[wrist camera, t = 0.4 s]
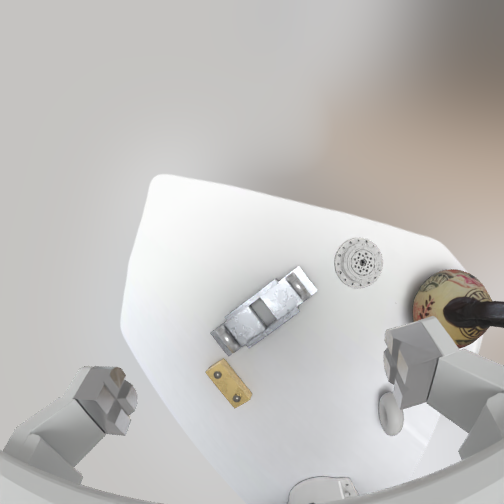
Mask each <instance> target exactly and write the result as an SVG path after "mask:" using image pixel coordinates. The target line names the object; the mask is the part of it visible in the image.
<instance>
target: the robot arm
mask: <svg viewBox="0 0 504 504" xmlns="http://www.w3.org/2000/svg"><path fill="white" fill-rule="evenodd" d="M385 343H386V345H387V349H386V350H385V351H384V368H385V372H386V376H387V378H388V381H389V382H390V383H392V384H393V385H394V391H393V394H394V396H395V399H396V402H397V404H398V407H399V409H400V410H402V409H405V408H408V407H412V406H415V405H418V404H422V403H425V402H427V404H428V405H430V406H431V407H433V408H434V409H435V410H437V411H438V412H440V413H441V414H442V415H444V416H445V417H446V418H448V419H449V420H451V421H452V422H453V423H455V424H456V425H458V426H459V427H460V428H462V429H463V430H465V431H466V432H468V433H469V434H468V436H467V438H466V439H465V441H464V443H463V444H462V446H461V447H460V449H459V451H458V452H459V454H460V457H461V459H462V460H461V461H460V462H457V463H455V464H453V465H450V466H448V467H446V468H444V469H441V470H439V471H436V472H434V473H431V474H429V475H426V476H423V477H421V478H418V479H415V480H412V481H409V482H406V483H403V484H400V485H397V486H394V487H390V488H387V489H383V490H380V491H376V492H372V493H368V494H364V495H360V496H359V495H358V493H357V491H356V489H355V487H354V485H353V483H352V482H351V480H350V478H348V477H344V478H330V477H315V478H310V479H307V480H304V481H302V482H300V483H298V484H297V485H296V486H295V487H293V489H292V490H291V492H290V494H289V502H288V503H287V504H504V365H501V364H499V363H497V362H494V361H492V360H490V359H487V358H485V357H483V356H480V355H478V354H475V353H473V352H471V351H468V350H466V349H462V350H459V348H458V347H457V345H456V344H455V343H454V341H453V340H452V338H451V337H450V336H449V334H448V333H447V331H446V330H445V329H444V327H443V326H442V325H441V323H440V322H439V321H438V319H437V318H436V317H434V316H431V317H428V318H424V319H421V320H418V321H416V322H412V323H409V324H405V325H402V326H398V327H395V328H391V329H387V330H386V332H385ZM125 377H126V375H125V373H124V372H123V371H122V369H121V368H118V367H99V366H95V367H90V366H84V367H82V368H80V370H79V371H78V373H77V374H76V376H75V377H74V379H73V381H72V382H71V384H70V386H69V387H68V389H67V391H66V392H65V394H64V395H63V397H62V398H60V397H59V398H58V399H56V400H55V401H53V402H52V403H50V404H49V405H48V406H46V407H45V408H43V409H42V410H40V411H39V412H38V413H36V414H35V415H33V416H32V417H30V418H29V419H27V420H26V421H25V422H23V423H22V424H20V425H19V426H17V427H16V429H15V431H14V432H13V434H12V436H11V437H10V439H9V441H8V443H7V445H6V446H5V448H4V450H3V452H2V451H0V504H163V503H155V502H149V501H144V500H139V499H134V498H129V497H124V496H120V495H116V494H112V493H108V492H104V491H101V490H97V489H93V488H90V487H87V486H84V485H81V481H82V479H83V476H82V474H81V473H80V472H79V471H77V470H76V469H75V468H74V467H75V466H76V465H77V464H78V463H79V462H80V461H81V460H82V459H83V458H84V456H86V454H88V453H89V452H90V451H91V450H92V449H93V447H95V445H96V444H97V443H98V442H99V441H100V440H101V439H102V438H103V437H104V436H105V435H106V434H112V435H123V436H125V435H126V432H127V430H128V427H129V424H130V422H131V419H130V416H129V415H130V414H131V413H133V412H134V411H135V409H136V406H137V394H136V390H135V389H134V387H133V385H131V384H130V383H129V382H127V381H126V380H125Z"/></svg>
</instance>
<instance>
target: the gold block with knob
mask: <svg viewBox="0 0 504 504" xmlns="http://www.w3.org/2000/svg"><path fill="white" fill-rule="evenodd" d="M206 374H207V375H208V376H209V378H210V379H211V380H212V381H213V383H214V384H215V385H216V386H217V388H218V389H219V390H220V391H221V393H222V394H223V395H224V396H225V397H226V399H227V400H228V401H229V402H230V403H231V405H232V406H233V407H234V408H237V407H238V406H240V405H242V404H244V403H245V402H247V401H249V400H250V398H251V396H252V393H251V392H250V390H249V389H248V388H247V387H246V385H245V384H244V383H243V382H242V381H241V379H240V378H239V377H238V376H237V374H236V373H235V372H234V370H233V369H232V368H231V367H230V365H229V364H228V363H227V362H226V360H225V359H224V358H223V359H222V360H220V361H219V362H217V363H216V364H214V365H213V366H211V367H210V368H209V369H208V370H207V371H206Z"/></svg>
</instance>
